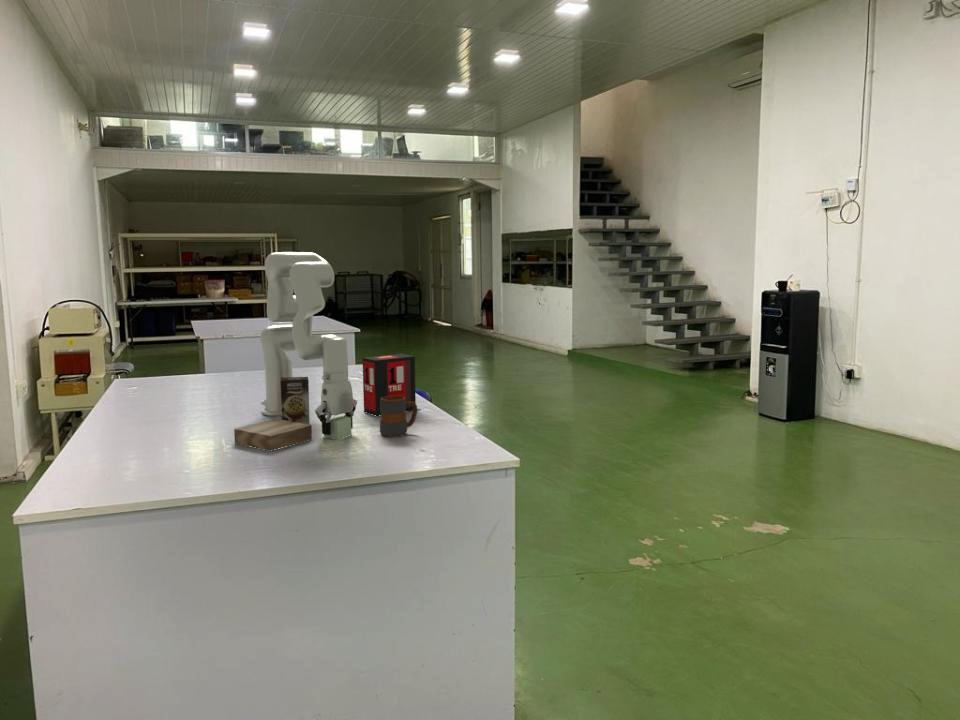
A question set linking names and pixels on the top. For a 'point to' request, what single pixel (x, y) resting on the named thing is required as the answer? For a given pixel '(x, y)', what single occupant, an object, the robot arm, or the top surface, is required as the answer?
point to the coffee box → (295, 399)
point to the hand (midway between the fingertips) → (337, 431)
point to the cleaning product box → (388, 380)
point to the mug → (395, 415)
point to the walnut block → (273, 434)
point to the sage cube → (339, 427)
